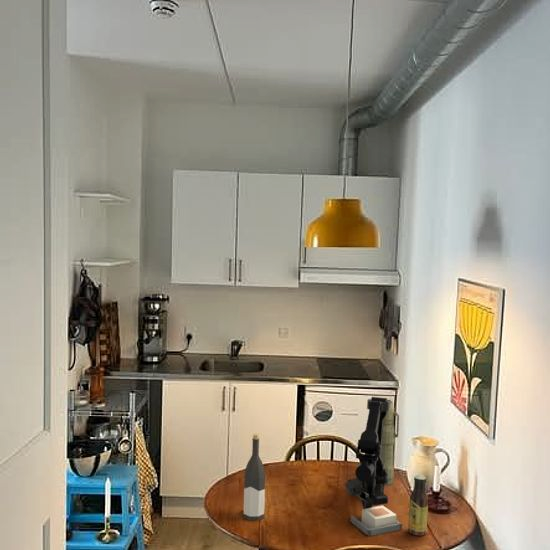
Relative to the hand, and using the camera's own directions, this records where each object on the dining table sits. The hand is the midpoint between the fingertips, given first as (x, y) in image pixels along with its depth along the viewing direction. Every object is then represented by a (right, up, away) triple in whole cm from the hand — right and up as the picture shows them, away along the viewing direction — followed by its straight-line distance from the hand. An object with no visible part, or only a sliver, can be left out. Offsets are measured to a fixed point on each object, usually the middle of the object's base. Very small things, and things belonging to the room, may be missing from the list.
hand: (366, 513), depth 212 cm
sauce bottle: (+16, -3, -10) cm, 19 cm away
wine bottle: (-41, -1, -1) cm, 41 cm away
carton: (+4, -2, -5) cm, 7 cm away
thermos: (+13, -1, +36) cm, 38 cm away
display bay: (+2, -2, -5) cm, 6 cm away
